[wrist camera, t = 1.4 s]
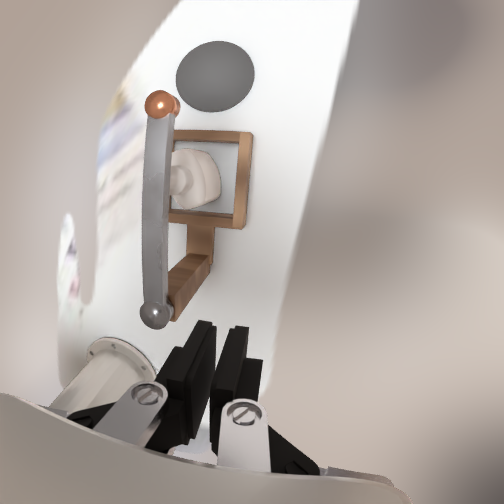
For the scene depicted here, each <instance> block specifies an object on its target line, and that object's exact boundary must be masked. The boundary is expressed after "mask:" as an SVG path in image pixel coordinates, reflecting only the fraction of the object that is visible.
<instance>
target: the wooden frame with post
mask: <svg viewBox="0 0 504 504" xmlns="http://www.w3.org/2000/svg"><path fill="white" fill-rule="evenodd" d="M175 141H195V142H221V143H239V152H238V163H237V175H236V188H235V200H234V213H233V214H224V213H213V212H202V211H190V210H178V209H171V195H170V196H169V220H168V222H170V223H180V224H187V250H186V256H185V257H184V258H183V259H182V260H181V261H180V262H178V263H177V264H176V265H175V266H174V267H173V268H172V269H171V270H170V271H169V272H168V300H169V301H170V302H171V304H172V306H173V309H174V313H173V316H172V318H171V319H170V320H169V321H173V322H176V320H177V319H178V317H179V316H180V314H181V313H182V311H183V310H184V309H185V307H186V306H187V304H188V303H189V301H190V300H191V298H192V297H193V296H194V294H195V293H196V291H197V290H198V288H199V287H200V286H201V284H202V283H203V281H204V280H205V279H206V277H207V276H208V274H209V273H210V265H211V264H212V263H213V250H214V232H215V227H222V228H231V229H241V230H242V229H243V227H244V226H245V224H246V213H247V201H248V189H249V178H250V166H251V155H252V144H253V135H252V134H251V133H250V132H237V131H215V130H174V135H173V147H172V152H174V143H175Z"/></svg>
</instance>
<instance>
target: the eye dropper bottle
mask: <svg viewBox="0 0 504 504" xmlns="http://www.w3.org/2000/svg"><path fill="white" fill-rule="evenodd" d="M220 193H221V180H220V174H219V171H218V168H217V166H216V164H215V162H214V161H213V159H212V158H211V156H210V155H209V154H208V153H206V152H204V151H199V150H194V149H188V148H184V149H180V150H177V151H175V152H172V160H171V175H170V194H169V196H170V195H171V196H173V198H174V199H175V201H176V202H177V203H178V204H179V205H180V206H181V207H182V208H183V209H185V210H189V209H193V208H196V207H199V206H202V205H204V204H206V203H209V202H211V201H213V200H215V199H217V198H219V196H220Z"/></svg>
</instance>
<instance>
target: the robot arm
mask: <svg viewBox="0 0 504 504" xmlns="http://www.w3.org/2000/svg"><path fill="white" fill-rule="evenodd" d="M216 331H217V327H216V326H212V322H208V321H202V320H198V322H197V324H196V325H195V327H194V329H193V331H192V333H191V334H190V336H189V338H188V340H187V342H186V343H185V345H184V347H183V348H182V347H177V346H175V347H174V348H173V350H172V351H171V353H170V355H169V356H168V358H167V360H166V361H165V363H164V365H163V366H162V368H161V370H160V371H159V373H158V375H157V377H156V374H155V371H154V370H153V368H152V366H151V364H150V363H149V362H148V360H147V359H146V358H145V357H144V356H143V355H142V354H141V353H140V352H139V351H138V350H137V349H135V348H134V347H132V346H131V345H129V344H128V343H126V342H123V341H121V340H118V339H115V338H101V339H98V340H97V341H95V342H94V343H93V344H92V345H91V346H90V348H89V349H88V353H87V362H88V364H87V365H86V366H85V367H84V368H83V369H82V370H81V371H80V373H79V374H78V375H77V376H76V377H75V378H74V379H73V380H72V381H71V382H70V384H69V385H68V386H67V387H66V388H65V389H64V390H63V391H62V393H61V394H60V395H59V396H58V397H57V398H56V399H55V400H54V402H53V403H52V404H51V405H50V406H49V407H45V406H40V405H36V404H33V403H31V402H29V401H27V400H24V399H21V398H19V397H15V396H12V395H9V394H4V393H0V504H413V502H412V500H411V499H410V498H409V497H408V496H407V495H406V494H405V493H404V492H402V491H401V490H399V489H397V488H394V485H393V484H392V482H391V480H389V479H388V478H386V477H384V476H380V475H373V474H367V473H360V472H354V471H348V470H343V469H338V468H332V467H328V468H327V469H324V468H319V467H318V466H317V464H316V463H315V462H314V461H313V460H311V459H310V458H309V457H307V456H306V455H305V454H303V453H302V452H301V451H299V450H298V449H297V448H296V447H294V446H293V445H292V444H291V443H289V442H288V441H287V440H286V439H284V438H283V437H282V436H281V435H279V434H278V433H277V432H276V431H275V430H273V429H272V428H271V427H270V426H269V425H268V423H267V413H266V410H265V408H264V407H263V406H262V405H261V404H259V403H258V402H257V401H258V394H259V387H260V379H261V371H262V364H263V360H260V359H252V358H246V354H247V344H248V334H249V327H243V326H235V329H233V328H230V330H229V333H228V336H227V338H226V341H225V344H224V347H223V350H222V353H221V356H220V359H219V362H218V365H217V368H216V370H215V360H216ZM209 396H210V442H211V443H212V451H213V452H214V453H215V454H216V455H217V457H218V459H217V465H212V464H207V463H202V462H197V461H193V460H188V459H184V458H180V457H176V456H172V455H173V454H174V451H175V446H178V445H181V444H183V445H188V443H189V441H190V438H191V439H195V438H196V435H197V432H198V429H199V426H200V423H201V420H202V417H203V414H204V411H205V408H206V405H207V402H208V399H209Z"/></svg>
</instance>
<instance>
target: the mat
mask: <svg viewBox="0 0 504 504" xmlns="http://www.w3.org/2000/svg"><path fill="white" fill-rule="evenodd" d="M253 81H254V67H253V64H252V61H251V59H250V57H249V55H248V54H247V53H246V52H245V51H244V50H243V49H242V48H241V47H239V46H237V45H235V44H233V43H229V42H224V41H213V42H208V43H205V44H202V45H200V46H198V47H196V48H194V49H193V50H191V51H190V52H189V53H188V54H187V55H186V56H185V57H184V58H183V60H182V61H181V63H180V65H179V67H178V70H177V73H176V87H177V90H178V93H179V95H180V96H181V98H182V99H183V100H184V101H185V102H186V103H187V104H188V105H190V106H191V107H193V108H195V109H197V110H200V111H204V112H219V111H223V110H227V109H229V108H231V107H233V106H235V105H236V104H238V103H239V102H241V101H242V100H243V99H244V98H245V96H246V95H247V94H248V92H249V91H250V89H251V87H252V84H253Z"/></svg>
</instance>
